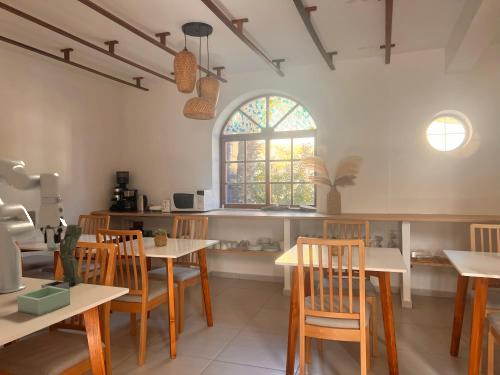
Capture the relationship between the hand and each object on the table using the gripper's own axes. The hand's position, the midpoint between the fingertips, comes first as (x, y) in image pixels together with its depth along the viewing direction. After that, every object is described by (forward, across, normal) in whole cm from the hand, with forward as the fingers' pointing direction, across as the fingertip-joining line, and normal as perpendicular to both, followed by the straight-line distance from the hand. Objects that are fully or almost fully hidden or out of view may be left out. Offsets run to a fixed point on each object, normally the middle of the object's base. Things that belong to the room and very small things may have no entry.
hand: (52, 242), depth 154 cm
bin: (+23, -7, +14) cm, 28 cm away
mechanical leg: (+24, +4, -16) cm, 29 cm away
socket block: (+23, 0, -1) cm, 23 cm away
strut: (+3, 0, 0) cm, 3 cm away
